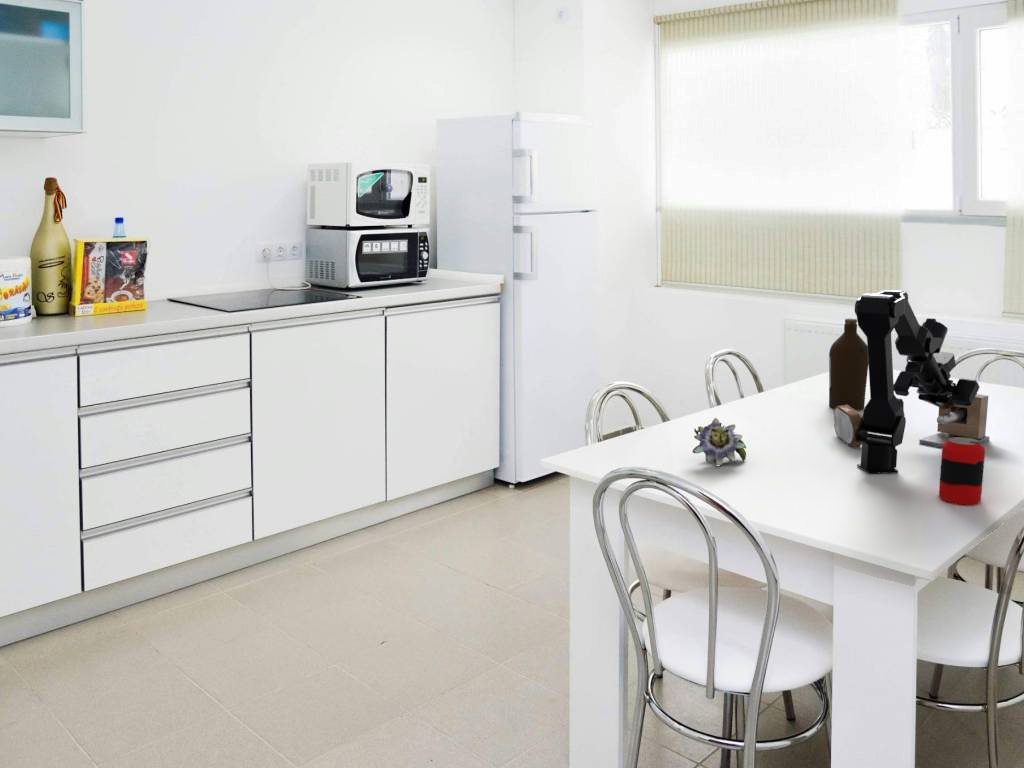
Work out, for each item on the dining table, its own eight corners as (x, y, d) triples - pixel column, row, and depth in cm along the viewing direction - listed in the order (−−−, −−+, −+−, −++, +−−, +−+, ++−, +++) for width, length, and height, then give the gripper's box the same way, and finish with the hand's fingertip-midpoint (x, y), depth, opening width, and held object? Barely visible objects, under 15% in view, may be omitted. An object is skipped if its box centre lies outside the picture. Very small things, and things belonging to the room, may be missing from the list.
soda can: (974, 508, 182) (978, 448, 180) (933, 500, 187) (937, 441, 185) (985, 498, 188) (990, 439, 185) (945, 491, 193) (949, 434, 190)
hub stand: (960, 451, 221) (963, 405, 219) (919, 443, 229) (922, 398, 227) (989, 440, 230) (992, 396, 228) (948, 433, 238) (951, 390, 236)
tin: (864, 449, 225) (866, 415, 223) (850, 450, 225) (852, 415, 223) (843, 434, 239) (845, 401, 238) (830, 434, 239) (832, 401, 238)
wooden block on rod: (978, 438, 226) (981, 397, 224) (937, 431, 234) (940, 391, 232) (983, 437, 228) (986, 396, 226) (942, 429, 235) (945, 390, 234)
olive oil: (871, 406, 269) (876, 318, 264) (858, 413, 261) (863, 322, 256) (834, 401, 276) (838, 315, 271) (820, 408, 268) (825, 320, 263)
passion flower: (718, 489, 214) (691, 451, 210) (704, 467, 224) (678, 430, 220) (760, 461, 213) (735, 423, 209) (744, 440, 223) (719, 403, 219)
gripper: (979, 346, 217) (997, 386, 226) (902, 338, 232) (922, 376, 241) (960, 385, 214) (979, 424, 223) (883, 374, 228) (904, 411, 237)
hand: (945, 407), depth 231 cm, fingers closed, pressing on wooden block on rod
